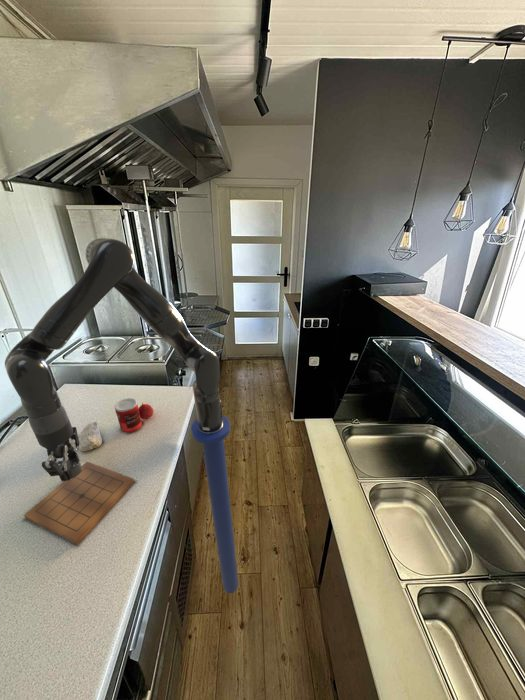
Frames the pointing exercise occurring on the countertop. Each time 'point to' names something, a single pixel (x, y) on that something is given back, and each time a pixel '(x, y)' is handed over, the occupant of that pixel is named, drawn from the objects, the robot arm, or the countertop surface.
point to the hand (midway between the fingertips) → (71, 471)
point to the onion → (145, 411)
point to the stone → (90, 437)
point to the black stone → (73, 467)
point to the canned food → (128, 415)
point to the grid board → (80, 502)
